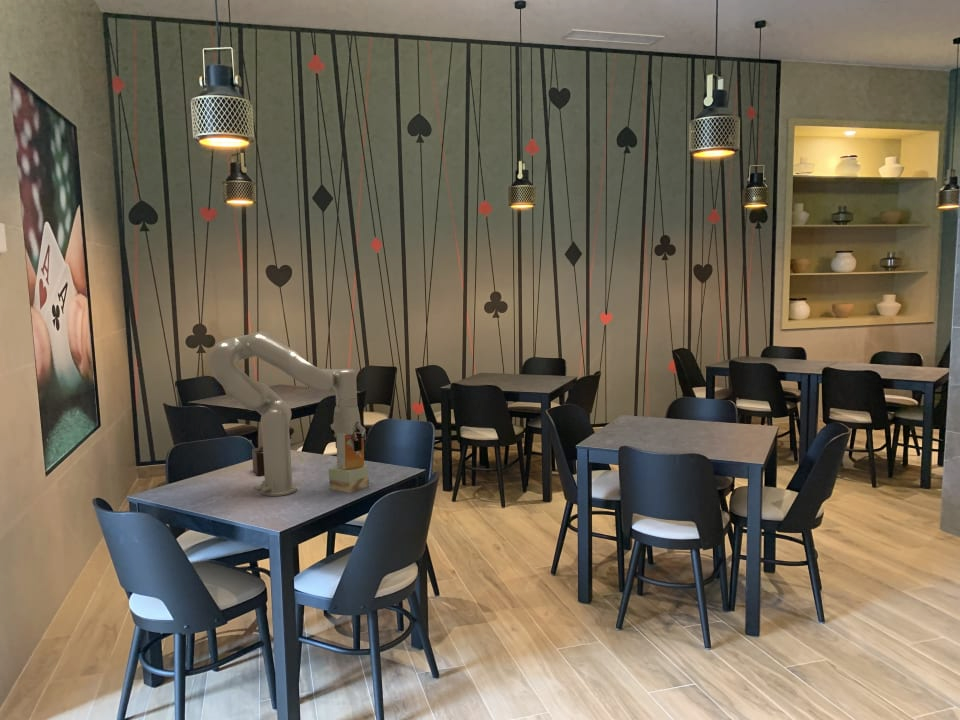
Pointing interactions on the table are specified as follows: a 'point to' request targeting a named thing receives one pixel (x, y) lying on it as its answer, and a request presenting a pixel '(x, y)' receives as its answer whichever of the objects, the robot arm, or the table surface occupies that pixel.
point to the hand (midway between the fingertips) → (348, 449)
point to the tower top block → (348, 474)
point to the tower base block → (349, 485)
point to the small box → (348, 452)
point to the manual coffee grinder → (261, 458)
